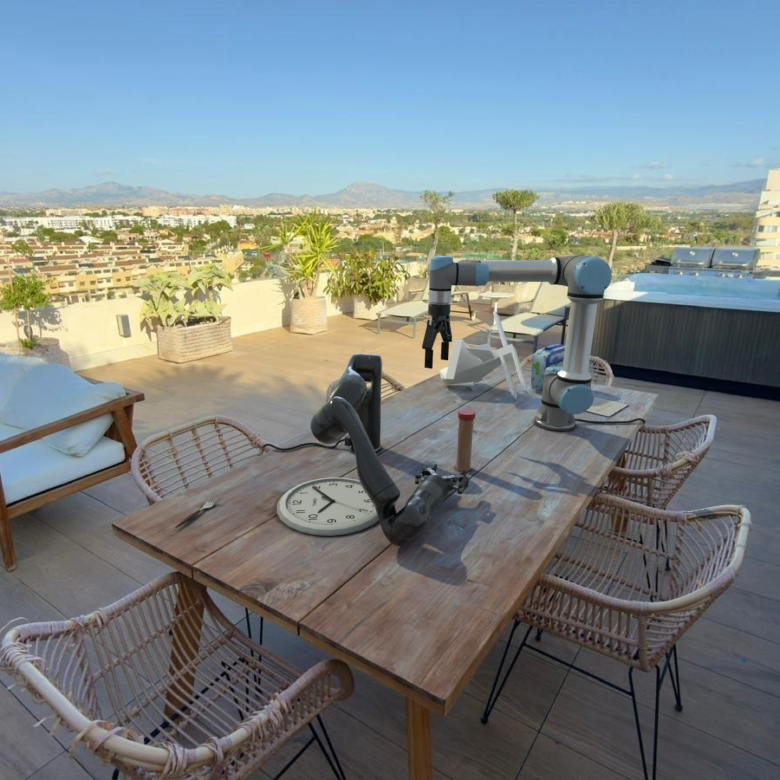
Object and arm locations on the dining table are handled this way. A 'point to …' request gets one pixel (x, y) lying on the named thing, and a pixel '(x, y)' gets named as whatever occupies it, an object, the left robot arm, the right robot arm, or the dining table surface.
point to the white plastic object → (482, 362)
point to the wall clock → (327, 507)
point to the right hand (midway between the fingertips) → (436, 363)
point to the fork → (206, 505)
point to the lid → (466, 414)
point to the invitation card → (605, 407)
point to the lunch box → (546, 363)
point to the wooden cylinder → (464, 445)
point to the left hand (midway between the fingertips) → (449, 469)
